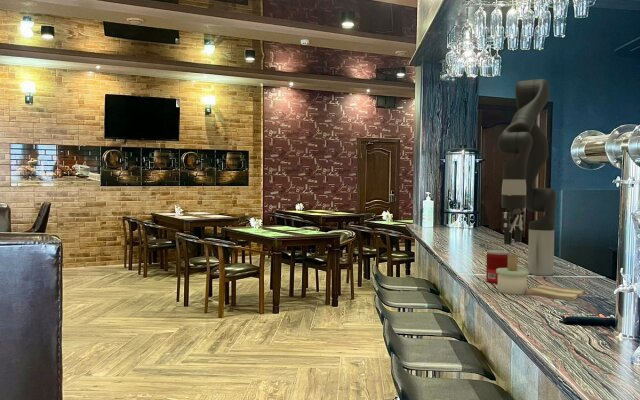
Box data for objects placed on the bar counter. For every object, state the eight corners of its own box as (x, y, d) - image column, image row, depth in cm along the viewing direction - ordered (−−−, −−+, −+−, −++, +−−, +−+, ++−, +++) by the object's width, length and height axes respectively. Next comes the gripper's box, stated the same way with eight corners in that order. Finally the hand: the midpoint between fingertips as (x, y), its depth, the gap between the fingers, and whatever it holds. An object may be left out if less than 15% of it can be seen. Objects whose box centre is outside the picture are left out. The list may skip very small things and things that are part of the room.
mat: (540, 287, 187) (540, 284, 187) (585, 293, 178) (585, 290, 178) (526, 294, 177) (526, 291, 176) (572, 300, 168) (572, 297, 168)
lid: (503, 269, 187) (503, 252, 187) (533, 273, 181) (533, 254, 181) (491, 273, 180) (491, 255, 179) (522, 277, 173) (522, 258, 173)
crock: (503, 287, 187) (504, 270, 187) (530, 291, 181) (531, 273, 181) (493, 291, 180) (493, 273, 180) (520, 295, 174) (521, 276, 174)
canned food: (511, 284, 192) (511, 253, 192) (487, 283, 194) (487, 252, 193) (508, 280, 200) (508, 250, 199) (485, 279, 201) (485, 249, 201)
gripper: (510, 193, 187) (509, 240, 188) (493, 193, 176) (492, 244, 177) (533, 193, 182) (532, 242, 183) (517, 194, 171) (516, 246, 172)
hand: (512, 243), depth 180 cm, fingers open, 8 cm apart
